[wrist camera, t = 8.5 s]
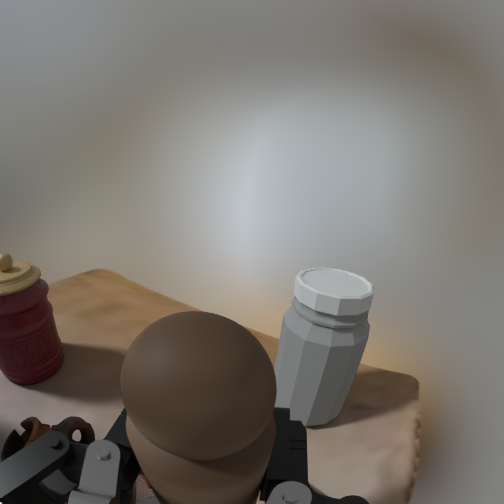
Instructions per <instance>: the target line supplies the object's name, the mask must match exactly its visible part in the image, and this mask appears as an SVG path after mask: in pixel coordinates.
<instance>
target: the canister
mask: <svg viewBox="0 0 504 504" xmlns="http://www.w3.org/2000/svg"><path fill="white" fill-rule="evenodd" d="M40 276H41V271H40V269H39V268H37V267H36V266H33V265H31V264H30V263H29V262H27V261H21V260H18V261H17V260H15V261H13V260H12V258H11V256H10V255H9V254H8V253H2V254H0V370H1V371H2V372H3V374H4V375H5V376H6V377H7V378H8V379H9V380H11V381H12V382H15V383H19V384H34V383H38V382H41V381H43V380H45V379H47V378H49V377H50V376H52V375H53V374H54V373H55V372H56V371H57V370H58V369H59V368H60V366H61V364H62V362H63V346H62V343H61V339H60V337H59V336H58V332H57V328H56V325H55V321H54V316H53V308H52V305H51V303H50V302H49V301H48V299H47V294H48V290H49V288H48V284H47V283H46V282H45V281H44V280H42V279H40Z"/></svg>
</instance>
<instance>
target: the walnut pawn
mask: <svg viewBox="0 0 504 504" xmlns="http://www.w3.org/2000/svg"><path fill="white" fill-rule="evenodd" d="M120 389H121V395H122V400H123V404H124V406H125V409H126V411H127V419H126V431H127V436H128V439H129V441H130V444H131V446H132V449H133V451H134V453H135V455H136V458H137V460H138V462H139V464H140V466H141V468H142V471H143V473H144V475H145V477H146V479H147V481H148V483H149V485H150V486H151V488H152V490H153V492H154V494H155V496H156V498H157V499H158V501H159V503H160V504H256V502H257V499H258V496H259V493H260V489H261V486H262V483H263V479H264V476H265V473H266V469H267V466H268V463H269V459H270V455H271V452H272V448H273V444H274V441H275V435H276V425H275V420H274V417H273V414H272V413H273V410H274V407H275V402H276V394H277V386H276V376H275V372H274V369H273V365H272V363H271V360H270V358H269V356H268V354H267V352H266V351H265V349H264V348H263V346H262V345H261V344H260V342H259V341H258V340H257V339H256V338H255V337H254V336H253V335H252V334H251V333H250V332H249V331H248V330H247V329H245V328H244V327H242V326H241V325H239V324H238V323H236V322H234V321H232V320H230V319H228V318H226V317H223V316H220V315H217V314H213V313H208V312H199V311H190V312H181V313H176V314H172V315H169V316H166V317H164V318H161V319H159V320H157V321H156V322H154V323H152V324H151V325H149V326H148V327H147V328H145V329H144V330H143V331H142V332H141V333H140V334H139V335H138V336H137V337H136V339H135V340H134V341H133V343H132V344H131V346H130V347H129V349H128V351H127V353H126V355H125V358H124V361H123V364H122V369H121V375H120Z"/></svg>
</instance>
